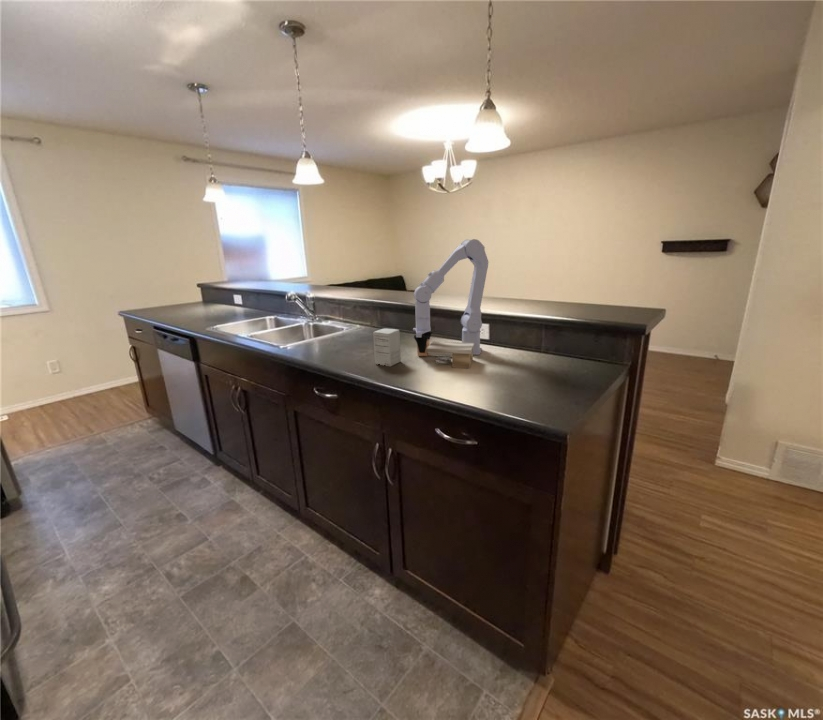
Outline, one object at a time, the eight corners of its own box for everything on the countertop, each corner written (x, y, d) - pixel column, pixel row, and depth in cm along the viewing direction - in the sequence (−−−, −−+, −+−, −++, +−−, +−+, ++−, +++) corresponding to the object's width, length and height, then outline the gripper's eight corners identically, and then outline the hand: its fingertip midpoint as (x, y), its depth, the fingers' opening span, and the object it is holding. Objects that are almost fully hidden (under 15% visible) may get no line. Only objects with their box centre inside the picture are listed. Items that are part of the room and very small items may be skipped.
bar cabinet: (433, 357, 152) (432, 341, 150) (474, 359, 148) (474, 343, 146) (426, 366, 142) (426, 348, 140) (470, 368, 138) (470, 350, 136)
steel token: (437, 360, 150) (437, 356, 150) (452, 360, 149) (452, 356, 148) (434, 364, 145) (434, 360, 144) (450, 365, 143) (450, 361, 143)
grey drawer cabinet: (385, 359, 152) (383, 327, 149) (401, 361, 148) (400, 329, 145) (374, 364, 146) (372, 331, 143) (390, 366, 142) (389, 333, 139)
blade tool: (420, 353, 158) (419, 338, 156) (455, 354, 154) (455, 339, 153) (417, 355, 154) (417, 341, 153) (453, 357, 151) (453, 342, 149)
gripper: (417, 314, 159) (418, 346, 163) (407, 320, 146) (409, 355, 150) (434, 314, 157) (434, 346, 161) (426, 321, 144) (426, 356, 148)
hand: (423, 351), depth 155 cm, fingers closed on blade tool, 4 cm apart
